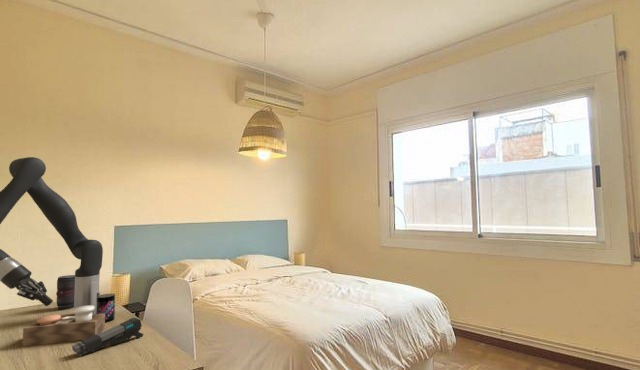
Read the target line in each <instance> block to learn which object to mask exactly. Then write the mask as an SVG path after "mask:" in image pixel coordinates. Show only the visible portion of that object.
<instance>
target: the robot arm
mask: <svg viewBox="0 0 640 370" xmlns="http://www.w3.org/2000/svg"><path fill="white" fill-rule="evenodd" d="M46 169H47V166H46V163H45V162H44V161H43V160H42V159H41V158H38V157H34V156H32V157H31V156H30V157H29V156H27V157H22V158H17V159H14V160H12V161H11V162H10V164H9V166H8V171H9V174H10V176H12V179H11V180H10V181H9V183H8V184H7V185H6V186H5V187H4V188H2V190H0V225H1V224H2V223H3V222H4V220H5V219H6V218H7V216H8V215H9V213H11V211H12V210H13V208H14V207H15V206H16V205H17V203H18V202H19V201H20V200H21V198H22V197H23V196H24V195H25V194H26V193H27V194H28V195H29V196H30V197H31V199H32V200H33V202H34V203H35V204H36V205H37V207H38V208H39V210H40V211H41V213H42V214H43V215H44V217H45V218H46V219H47V220H48V222H49V223H50V224H51V225H52V226H53V227H54V229H55V230H56V232H57V233H58V234H59V235H60V237H61V238H62V239H63V240H64V242H65V244H66V246H67V248H68V249H69V251H70V252H71V254H72V256H74V257H75V258H76V259H77V260H80V263H79V264H80V265H79V267H78V268H77V269H75V271H74V275H75V294H74V308H77V307H81V306H89V305H92V306H95V309H94V311H92V315H94V314H96V306H97V301H96V300H97V296H99V295H101V292H100V274H101V268H102V266H103V254H104V253H103V252H104V249H103V244H102V242H100V241H99V240H97V239H88V238H87V236H85V235H84V233H83V232H82V231H81V229H80V228H79V225H78V221H77V215H76V214H75V211H74V210H73V209H72V207H71V206H70V204H69V202H67V200H65V198H63V197H62V196H61V195H60V194H58V192H56V191H55V190H53V189H52V188H50V186H49V185H47V183H46V182H45V181H44V179H43V178H42V177H43V176H44V175H45V173H46ZM32 274H33V273H32V271H30V270H29V269H28V268H27V267H25V266H24V265H23V264H22V263H21V262H19V261H18V260H16V258H13V257H12V256H11V255H9V254H8V253H7V252H6V251H5V250H3V249H2V248H0V283H2V284H3V285H5V286H6V287H7V288H8V289H10V290H11V289H16V290H18V292H16V295H17V296H19V297H22V298H25V299H28V300H30V301H34V300H36V301H39V302H40V303H42V305H44V306H45V307H48V306H50V305H51V304H52V303H53V302H54V300H53V299H52V298H51V297H50V296H48V295H47V292H48V289H47V288H46V286H45V283H44V282H43V281H40V280H39V282H37V280H35V279H33V278H31V276H32ZM74 308H73V309H74ZM73 316H75V314H73Z"/></svg>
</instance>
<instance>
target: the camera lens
mask: <svg viewBox="0 0 640 370" xmlns="http://www.w3.org/2000/svg"><path fill="white" fill-rule="evenodd" d="M74 294H75V274H70V275H69V274H68V275H60V276H58V277H57V280H56V307H57V309H58V310H59V311H63V310H70V309H74Z"/></svg>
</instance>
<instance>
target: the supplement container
mask: <svg viewBox="0 0 640 370" xmlns="http://www.w3.org/2000/svg"><path fill="white" fill-rule="evenodd" d="M96 301H97V306H96V314H105V324H106V323H108V322H109V323H111V322H112V321H114V320H115V317H116V316H115V315H116V293H104V294H100V295H99V296H97V300H96Z"/></svg>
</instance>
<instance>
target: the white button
mask: <svg viewBox="0 0 640 370" xmlns="http://www.w3.org/2000/svg"><path fill="white" fill-rule="evenodd" d="M94 309H95V306H92V305H89V306H81V307H77V308H72V313H73V315H74V314H75V322H80V321H90V320H91V319H92V311H94Z"/></svg>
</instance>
